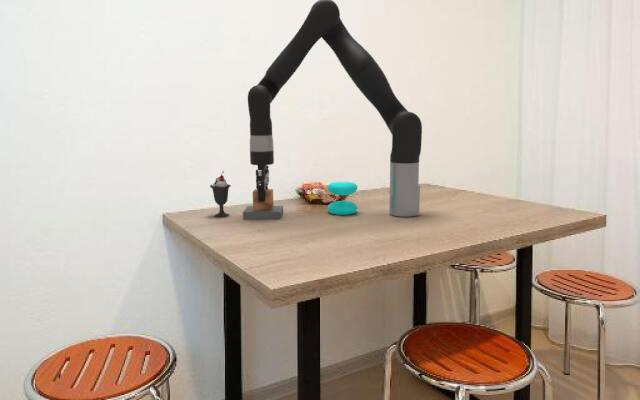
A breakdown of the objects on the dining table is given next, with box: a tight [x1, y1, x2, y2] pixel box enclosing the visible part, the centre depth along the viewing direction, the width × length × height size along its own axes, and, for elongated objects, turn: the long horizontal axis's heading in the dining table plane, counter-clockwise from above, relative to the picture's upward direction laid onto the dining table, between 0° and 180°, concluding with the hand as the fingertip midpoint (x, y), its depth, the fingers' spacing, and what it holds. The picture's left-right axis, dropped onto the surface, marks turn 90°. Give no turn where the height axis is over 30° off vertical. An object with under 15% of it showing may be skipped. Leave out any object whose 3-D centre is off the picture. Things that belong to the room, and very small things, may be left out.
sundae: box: [209, 170, 231, 218], centre depth 159 cm, size 7×7×15 cm
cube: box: [252, 188, 275, 211], centre depth 158 cm, size 6×6×6 cm
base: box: [242, 205, 284, 221], centre depth 159 cm, size 12×10×3 cm
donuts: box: [327, 181, 358, 216], centre depth 162 cm, size 10×10×10 cm
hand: (263, 199), depth 158 cm, fingers open, 8 cm apart
